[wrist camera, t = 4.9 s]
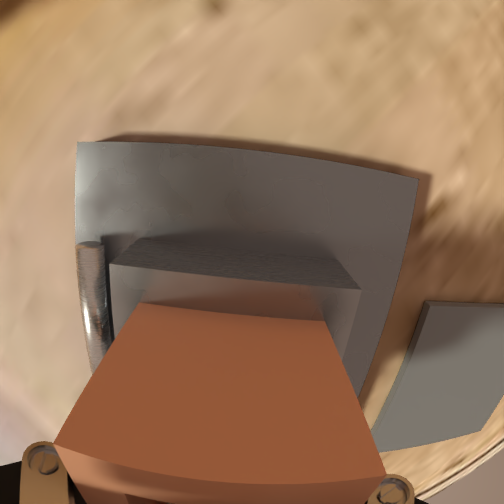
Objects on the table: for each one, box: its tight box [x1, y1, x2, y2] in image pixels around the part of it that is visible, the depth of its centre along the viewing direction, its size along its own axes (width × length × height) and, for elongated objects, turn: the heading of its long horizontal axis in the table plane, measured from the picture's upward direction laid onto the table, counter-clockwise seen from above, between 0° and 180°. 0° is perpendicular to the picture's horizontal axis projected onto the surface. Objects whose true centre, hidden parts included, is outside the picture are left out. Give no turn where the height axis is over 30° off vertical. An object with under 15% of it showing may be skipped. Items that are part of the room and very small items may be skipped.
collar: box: [53, 302, 387, 504], centre depth 8 cm, size 6×6×6 cm
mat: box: [371, 301, 504, 452], centre depth 17 cm, size 12×12×1 cm
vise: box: [75, 142, 419, 504], centre depth 10 cm, size 16×14×12 cm
